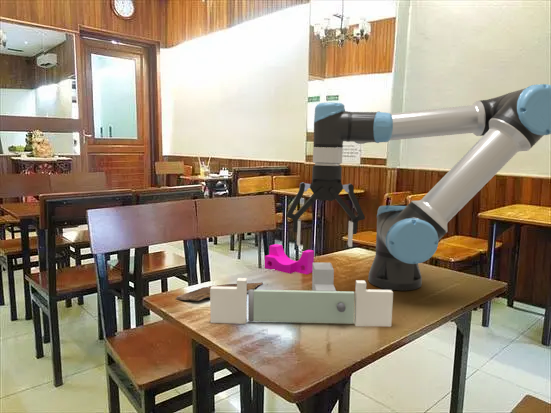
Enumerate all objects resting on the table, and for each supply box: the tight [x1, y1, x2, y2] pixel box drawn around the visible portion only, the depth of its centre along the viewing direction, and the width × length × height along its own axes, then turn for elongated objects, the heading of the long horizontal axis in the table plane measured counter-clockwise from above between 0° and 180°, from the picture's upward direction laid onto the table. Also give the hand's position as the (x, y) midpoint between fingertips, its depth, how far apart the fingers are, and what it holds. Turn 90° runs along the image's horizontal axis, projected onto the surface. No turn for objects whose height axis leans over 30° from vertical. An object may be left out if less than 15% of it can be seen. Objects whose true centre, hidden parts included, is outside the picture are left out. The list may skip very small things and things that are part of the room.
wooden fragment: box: [175, 282, 263, 302], centre depth 115 cm, size 26×11×1 cm, turn 120°
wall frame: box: [209, 277, 394, 328], centre depth 94 cm, size 41×2×10 cm, turn 89°
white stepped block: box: [311, 261, 337, 291], centre depth 111 cm, size 5×12×8 cm, turn 0°
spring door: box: [247, 289, 355, 324], centre depth 93 cm, size 24×3×7 cm, turn 89°
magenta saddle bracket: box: [264, 243, 315, 275], centre depth 136 cm, size 15×6×8 cm, turn 54°
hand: (324, 245), depth 110 cm, fingers open, 13 cm apart
